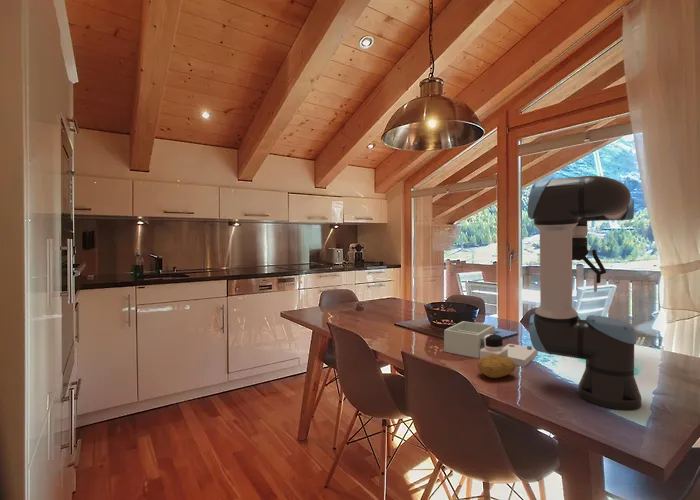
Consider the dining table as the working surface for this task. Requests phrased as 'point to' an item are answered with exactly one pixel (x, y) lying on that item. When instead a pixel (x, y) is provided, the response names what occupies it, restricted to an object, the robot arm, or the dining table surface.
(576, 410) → the dining table surface
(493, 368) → the potato
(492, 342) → the medicine bottle
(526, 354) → the white flat block
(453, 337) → the open box
